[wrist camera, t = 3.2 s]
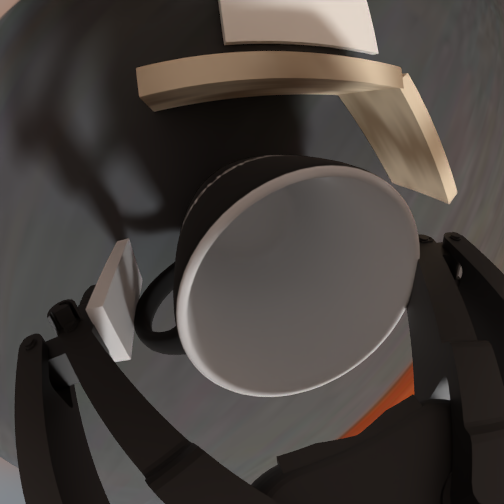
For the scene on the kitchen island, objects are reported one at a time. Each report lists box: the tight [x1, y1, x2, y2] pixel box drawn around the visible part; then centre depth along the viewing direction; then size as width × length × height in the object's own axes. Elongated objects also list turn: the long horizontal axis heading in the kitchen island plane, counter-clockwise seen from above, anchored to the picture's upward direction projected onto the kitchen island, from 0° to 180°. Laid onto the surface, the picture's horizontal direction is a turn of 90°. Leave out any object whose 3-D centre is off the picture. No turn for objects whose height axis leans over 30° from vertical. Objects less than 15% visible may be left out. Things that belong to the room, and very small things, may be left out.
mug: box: [134, 155, 420, 397], centre depth 13 cm, size 12×9×10 cm
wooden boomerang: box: [136, 51, 457, 204], centre depth 13 cm, size 18×8×6 cm, turn 97°
